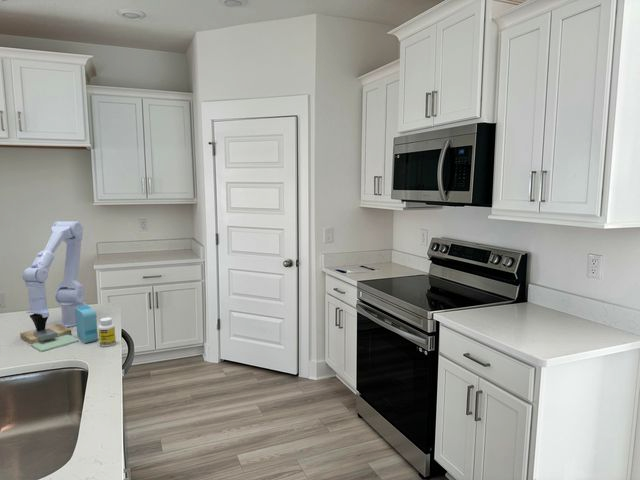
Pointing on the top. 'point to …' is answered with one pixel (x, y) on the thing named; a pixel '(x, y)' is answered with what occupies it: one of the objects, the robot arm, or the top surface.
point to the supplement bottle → (106, 332)
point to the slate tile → (45, 334)
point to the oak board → (57, 328)
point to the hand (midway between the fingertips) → (41, 331)
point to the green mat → (54, 343)
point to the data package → (86, 324)
